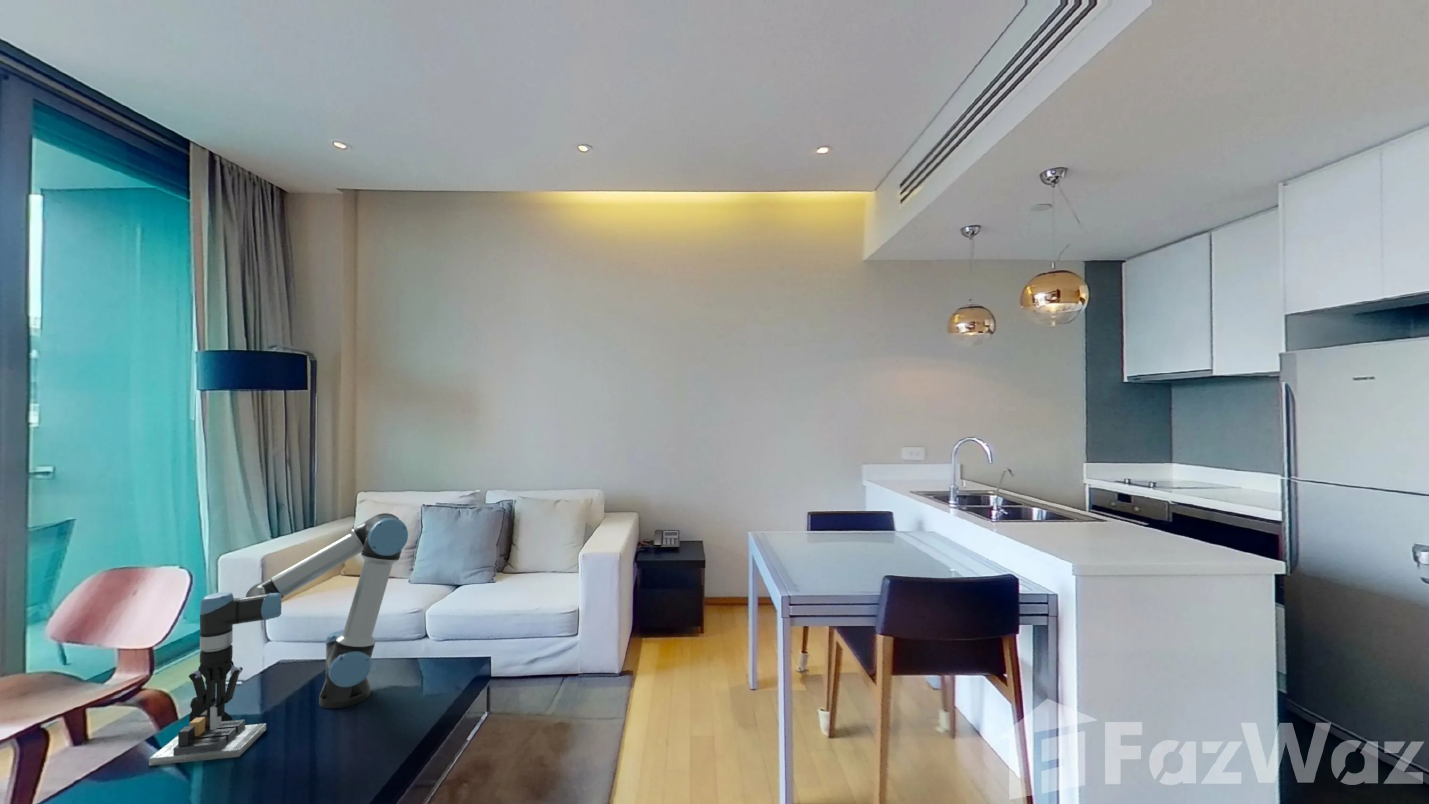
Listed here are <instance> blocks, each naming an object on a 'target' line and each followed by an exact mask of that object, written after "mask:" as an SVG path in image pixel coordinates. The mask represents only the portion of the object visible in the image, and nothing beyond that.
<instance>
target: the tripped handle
mask: <svg viewBox="0 0 1429 804" xmlns="http://www.w3.org/2000/svg"><path fill="white" fill-rule="evenodd" d="M188 723H189V722H188ZM188 726H195V736H199V735H200V734H202V733H203V732H204V731H205V717H200V718H197V717H196V718H195V719H194V720H193V721H191V722H190V723H189V724H188Z"/></svg>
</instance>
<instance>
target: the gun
mask: <svg viewBox="0 0 1429 804" xmlns="http://www.w3.org/2000/svg"><path fill="white" fill-rule="evenodd" d="M189 706H190V709H191V711H190V714H189V719H188V721H189V722H188V723H190V722H191V721H193V720H194V719H195V718H200V715H201V714H202V713H203V712H204V711H206V710H207V707H206V706H204V705H202V706H200V705H199V702H198V699H197V696H195V697H193V698H192V700H191V701H190V705H189ZM223 721H234V719H233V717H232V716H231V715H230V714H229V713H228V712H227V711H225V713H224V714H223V715H222V716H221V722H223Z"/></svg>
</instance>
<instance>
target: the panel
mask: <svg viewBox="0 0 1429 804" xmlns="http://www.w3.org/2000/svg"><path fill="white" fill-rule="evenodd" d="M200 717H205V731H204V732H203V733H202V734H200V735H199V736H195V726H189V725H188V726H184V727H183V728H182V729H180V730H179V731H177V732H178V734H177V735H176V736H175V737H174V738H173V739H172V740H170V741H169V742H168V743H166V745H164V746H163V747H162V748H161V749H159V750H158V751H157V752H155V753H154V754H153V755H152V756H150V757H149V759H148V760H149V761H148V762H149V763H148V766H160V765H170V764H178V763H188V762H189V763H190V762H200V761H207V760H218V759H219V760H220V759H221V760H222V759H229V758H239V757H241V755H242V754H244V752H245V751H247V750H248V749H249V748H250V747H251V746H252V745H253V744H254V743H255V742H256V740H257V739H258V738H260V736H261V735H262V734H263V733H264V732H266V731H267V723H256V724H246V719H236V720H235V719H233V721H223V722H221V725H220V726H219V727H218V728H217V729H215V730H210V717H209V718H208V717H207V710H206V711H204V712H203V713H202V714H201V715H200Z"/></svg>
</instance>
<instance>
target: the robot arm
mask: <svg viewBox="0 0 1429 804" xmlns="http://www.w3.org/2000/svg"><path fill="white" fill-rule="evenodd" d="M408 539H409V530H408V528H407V526H406V524H405V523H404V522H403V521H402V520H401V519H400V518H399V517H398V516H396V515H394V514H392V513H388V512H387V513H385V512H382V513H378V514H376V515H374V516H371V517H370V518H368V519H367V520H364V521H363V522H362V523H360V524H359V525H357V526H355V527H353V528H351V530H350V533H349V534H347V535H345V536H343V537H341V538H340V539H338V540H337V541H334V542H333V543H331V544H329V545H327V546H325V547H324V548H322V549H320V550H318V551H316V552H315V553H314V554H311V555H310V556H308V557H306V558H304V559H303V560H301V561H299V562H297V563H296V564H294V565H292V566H290V567H288V568H287V569H285V570H283V571H281V572H279V573H277V574H276V575H274V576H272V577H270V578H269V579H267V580H265V581H263V582H258V583H256V584H254V585H252V586H251V587H250V588H249V590H247V592H246V594H245V597H238V598H237V597H236V598H235V597H234V595H233V593H232V592H231V591H230V592H229V591H223V592H215V593H211V594H208V595H205V596H204V597H203V598H202V599H201V601H200V608H199V650H200V651H199V664H200V665H199V666H198V669H197V670H195V671H193V672H191V673H190V674H189V675H188V677H189V680H191V682H192V683H193V688H194V690H195V696H196V697H197V699H198V702H199V705H200V706H202V705H204V706H206V707H207V717H208V718H209V717H210V730H215V729H217V728H218V727H219V726H220V725H221V716H222V715H223V714H224V713H225V712H226V711H225V710H226V708H225V707H226V704H227V703H229V702H230V701H231V700H232V699H233V698H234V694H235V691H236V687H237V682H238V679H239V676H240V674H242V672H243V670H244V669H243V667H241V666H240V667H237V666H235V665H234V664H235V663H234V662H233V653H234V652H233V650H234V649H233V648H234V647H233V645H232V644H233V638H234V637H233V635H234V634H233V632H234V629H233V627H234V625H240V624H244V623H245V624H247V623H253V622H258V621H259V622H260V621H268V620H271V619H275V618H279V617H280V616H281V615H282V599H283V598H285V597H286V596H288V595H290V594H292V593H294V592H295V591H297V590H299V589H300V588H302V587H304V586H305V585H307V584H309V583H310V582H312V581H315V580H316V579H318V578H319V577H321V576H322V575H324V574H327V572H330V571H331V570H334V569H335V568H337V567H339V566H340V565H342V564H344V563H345V562H347V561H349V560H350V559H352V558H354V557H356V556H357V555H359V554H360V556H361V557H362V558H363V560H364V561H363V565H362V567H361V571H360V575H359V578H358V580H357V584H356V588H355V592H354V594H353V599H352V602H351V605H350V609H349V611H348V615H347V619H346V622H345V625H344V629H342V630H338V631H333V632H331V633H329V634H328V635H327V636H326V642H325V680H324V683H323V685H322V689H321V690H320V693H319V698H318V705H319V706H320V707H322V708H324V709H339V708H346V707H347V708H348V707H350V706H354V705H357V704H359V703H361V702H363V701H365V700H366V699H368V698H369V697H370V696H371V684H370V682H369V680H368V676H369V674H370V672H371V669H372V655H373V652H374V649H375V645H376V639H375V638H374V636H373V634H374V630H375V628H376V623H377V620H378V617H379V613H380V610H381V606H382V603H383V599H384V595H385V592H386V588H387V585H388V581H389V579H390V578H389V577H390V575H391V572H392V568H393V565H394V563H396V562H398V561H399V560H400V557H401V554H402V550H403V549H404V547H405V546H406V544H407V542H408ZM228 674H230V677H229V679H228V683H227V684H226V682H227V678H228V676H227V675H228ZM226 686H227V687H226Z"/></svg>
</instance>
